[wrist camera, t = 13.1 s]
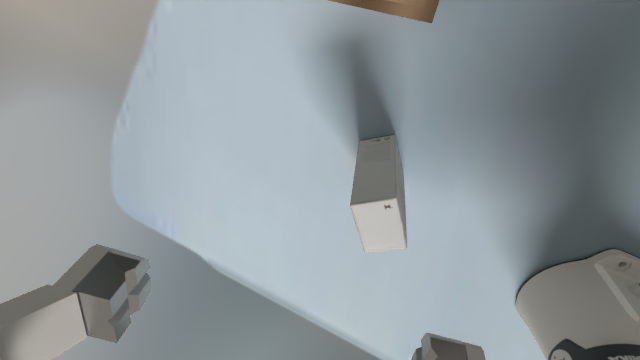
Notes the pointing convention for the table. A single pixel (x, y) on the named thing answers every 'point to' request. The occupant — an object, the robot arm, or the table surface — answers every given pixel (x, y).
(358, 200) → the skincare box
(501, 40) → the table surface
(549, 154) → the table surface
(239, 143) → the table surface
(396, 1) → the tray
